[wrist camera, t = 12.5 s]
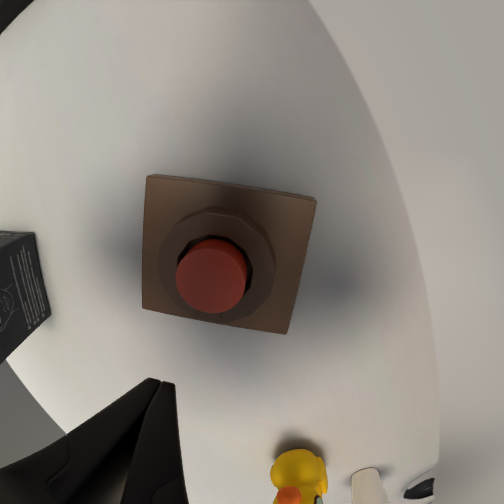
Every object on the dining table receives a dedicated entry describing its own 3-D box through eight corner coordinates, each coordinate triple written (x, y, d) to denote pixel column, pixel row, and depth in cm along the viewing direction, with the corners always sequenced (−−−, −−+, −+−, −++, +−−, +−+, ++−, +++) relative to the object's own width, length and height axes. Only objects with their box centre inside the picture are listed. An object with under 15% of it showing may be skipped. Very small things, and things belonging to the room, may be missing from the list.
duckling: (255, 430, 25) (248, 521, 16) (311, 419, 24) (319, 514, 15) (285, 479, 28) (285, 548, 19) (330, 471, 27) (337, 541, 18)
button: (252, 244, 16) (250, 255, 15) (242, 302, 18) (239, 318, 16) (186, 233, 16) (177, 243, 15) (182, 292, 18) (173, 306, 16)
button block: (314, 197, 18) (322, 206, 15) (285, 325, 21) (287, 351, 18) (153, 173, 18) (133, 179, 15) (147, 300, 21) (132, 322, 18)
